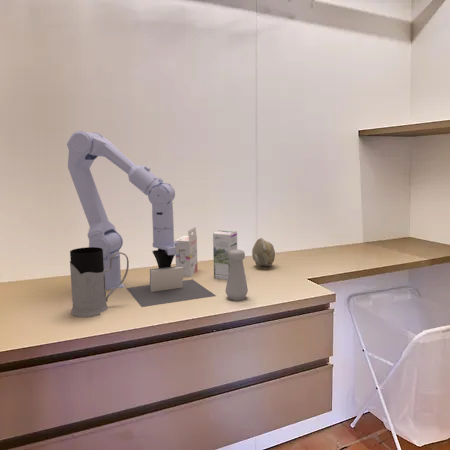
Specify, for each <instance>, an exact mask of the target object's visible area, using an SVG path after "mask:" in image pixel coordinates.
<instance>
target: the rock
mask: <svg viewBox="0 0 450 450" xmlns="http://www.w3.org/2000/svg"><path fill="white" fill-rule="evenodd" d="M251 254H252V259H253V261H254V264H255V265H256V266H258V267H266V268H270V267H271V268H272V267H273V266H274V265H273V263H274V261H275V257H276V251H275V248H274V245H273V244H272V243H271V242H269V241H268V240H265V239H264V238H263V237H260V238H258V239H257V240H256V241H255V243H254V245H253V247H252V251H251Z"/></svg>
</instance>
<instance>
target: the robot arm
mask: <svg viewBox="0 0 450 450" xmlns="http://www.w3.org/2000/svg"><path fill="white" fill-rule="evenodd" d="M66 146H67V149H68V156H67V157H68V158H67V159H68V160H67V169H68V171H69V175H70V178H71V179H72V183H73V185H74V188H75V191H76V193H77V195H78V199H79V201H80V204H81V206H82V210H83V212H84V215H85V217H86V220H87V222H88V225H89V228H88V232H87V238H88V247H97V248H102V249H103V262H104V270H107V269H109V268H110V260H111V257H112V256H113V255H114V254H115V253H117V252H120V250H121V249H122V246H123V244H124V241H123V238H122V237H123V236H122V235H121V234H120V233H119V232H118V231H117V230H116V227H115V225H114V224H113V223H111V221H110V220H109V218H108V215H107V213H106V210H105V207H104V204H103V203H102V200H101V196H100V193H99V190H98V188H97V185H96V183H95V180H94V177H93V174H92V172H91V169H90V168H91V167H92V165H93V163H94V161H95V160H96V159H97V158H98V157H103V158H106V159H107V160H109V161H110V162H111V163H112V164H113V165H115V167H118V168H119V169H121V170H122V171H123V172H124V173H126V174H127V176H128V180H129V181H128V182H129V183H131V184H132V185H133V186H135V187H136V188H137V189H138V190H139V191H141V192H142V193H143V194H144V195H145V196H147V198H148V200H149V202H150V203H151V208H152V209H151V219H152V247H153V248H155V249H157V250H155V249H154V250H152V254H153V256H154V258H155V261H156V263H157V267H158V268H165V267H172V263H173V260H174V257H176V255H175V254H176V252H175V245H178V242H175V235H174V234H175V232H174V227H175V226H174V210H173V209H174V208H173V204H174V202H173V201H174V199H175V197H176V191H175V189H174V187H173V186H172V185H171V183H168V182H164V179H162V177H160V178H159V177H157V175H155V174H154V173H153V172H151V168H150V167H149V165H148V166H147V165H143V164H140V165H136V164H135V163H134V162H133V161H132V160H131V159H130V158H129V157H127V155H125V154H124V153H123V152H122V151H121V150H120V149H119V148H117V146H115V144H113V143H112V142H111V141H110V140H109V139H107V138H106V137H104V136H103V135H102V134H101V133H99V132H87V131H83V130H78V131H77V130H76V131H75V132H73V133H72V135H71V136H70V138H69V140H68V141H67V143H66ZM121 270H122V269H121V254H117V255H115V256H114V258H113V260H112V268H111V270H109V271H105V286H106V291H107V290H113V289H114V288H115V287H116V286H117V285H118V284H119V283H120V282H121V281H122V275H121V273H122V272H121ZM122 288H126V286H125V285H124V282H123V283H122V284H121V285H120V286H119V287H118V288H117V289H122Z"/></svg>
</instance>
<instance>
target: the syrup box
mask: <svg viewBox="0 0 450 450" xmlns="http://www.w3.org/2000/svg"><path fill="white" fill-rule="evenodd" d="M212 239H213V240H212V246H213V248H212V250H213V251H212V252H213V253H212V254H213V279H214V280H224V281H227V279H228V273H229V267H230V261H231V260H229V259H228V253H229V251H231V250H238V231H236V230H221V229H220V230H217V231H215V232H213V233H212Z"/></svg>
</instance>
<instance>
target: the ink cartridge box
mask: <svg viewBox="0 0 450 450" xmlns="http://www.w3.org/2000/svg"><path fill="white" fill-rule="evenodd" d="M174 242H178V245H175V252H176V254H175V266H182V267H183V278H184V277H189V278H190V277H192V276H193V275H194V274H195V273H196V272H197V271H198V236H197V228H196V226H195V227H193V228H191V229H189V230H187V235H182V236H181V237H179V238H177V239H174Z"/></svg>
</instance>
